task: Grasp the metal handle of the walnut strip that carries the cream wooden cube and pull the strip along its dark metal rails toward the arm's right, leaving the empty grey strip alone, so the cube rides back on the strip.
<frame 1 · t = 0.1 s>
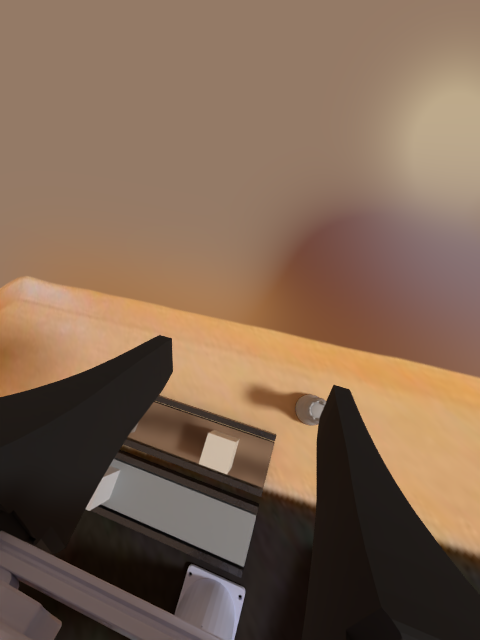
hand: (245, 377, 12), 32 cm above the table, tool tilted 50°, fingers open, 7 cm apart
cube: (222, 448, 39), point 1 cm above the table, touching strip A
rook chess piece: (309, 409, 41), on the table
strip A: (187, 438, 39), point 3 cm above the table, slide at 0.0 cm, touching cube
lane rails: (183, 467, 40), on the table
strip B: (164, 511, 36), point 3 cm above the table, slide at 0.0 cm
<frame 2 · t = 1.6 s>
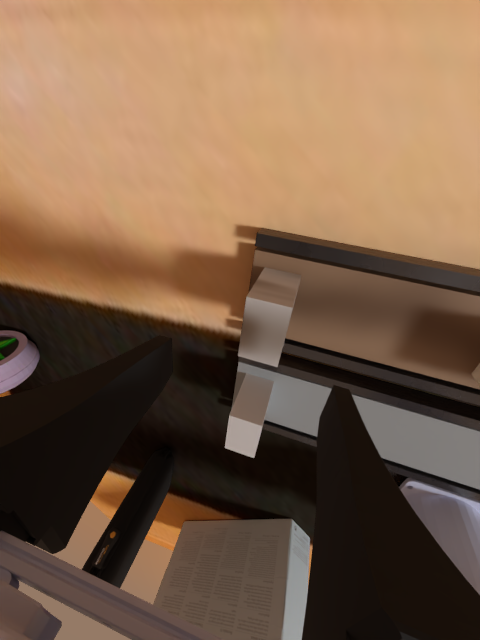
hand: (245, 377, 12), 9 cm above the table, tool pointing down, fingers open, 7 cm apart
headphones: (53, 389, 36), on the table
skincare box: (242, 527, 41), on the table
strip A: (445, 353, 15), point 3 cm above the table, slide at 0.0 cm, touching cube
lane rails: (400, 376, 20), on the table
strip B: (379, 449, 20), point 3 cm above the table, slide at 0.0 cm
carrying case or bag: (168, 457, 36), on the table
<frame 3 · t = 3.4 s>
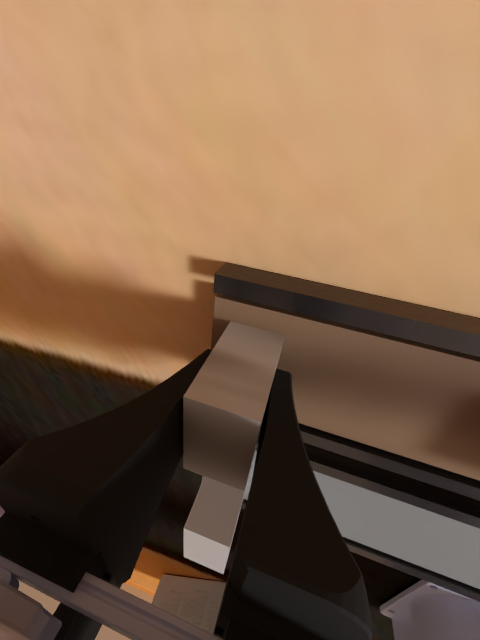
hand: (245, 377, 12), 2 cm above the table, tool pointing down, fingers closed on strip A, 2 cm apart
skincare box: (227, 587, 35), on the table
lane rails: (427, 464, 14), on the table
strip B: (397, 565, 14), point 3 cm above the table, slide at 0.0 cm
carrying case or bag: (137, 513, 31), on the table
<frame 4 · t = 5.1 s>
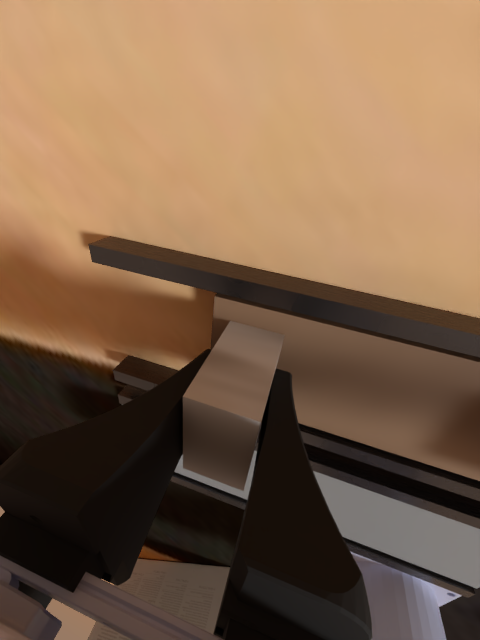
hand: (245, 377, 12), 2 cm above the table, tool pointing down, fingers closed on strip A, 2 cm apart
skincare box: (185, 568, 36), on the table
lane rails: (316, 429, 15), on the table
strip B: (290, 524, 16), point 3 cm above the table, slide at 0.0 cm
carrying case or bag: (93, 494, 32), on the table
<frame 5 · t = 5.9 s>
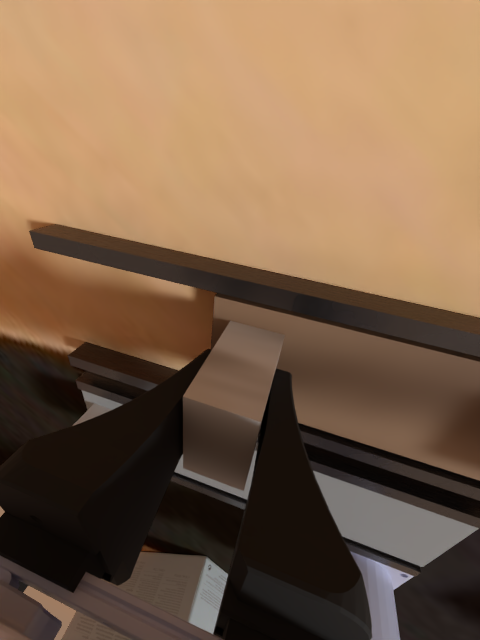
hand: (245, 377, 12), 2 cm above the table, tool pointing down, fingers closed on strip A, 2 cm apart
skincare box: (165, 559, 37), on the table
lane rails: (262, 412, 16), on the table
strip B: (239, 504, 16), point 3 cm above the table, slide at 0.0 cm
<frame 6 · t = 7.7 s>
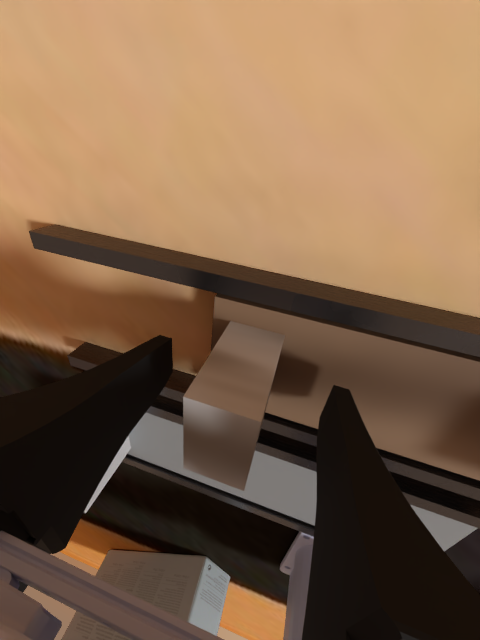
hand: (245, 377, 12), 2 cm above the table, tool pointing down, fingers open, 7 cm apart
skincare box: (165, 559, 37), on the table
lane rails: (262, 411, 16), on the table
strip B: (238, 504, 16), point 3 cm above the table, slide at 0.0 cm
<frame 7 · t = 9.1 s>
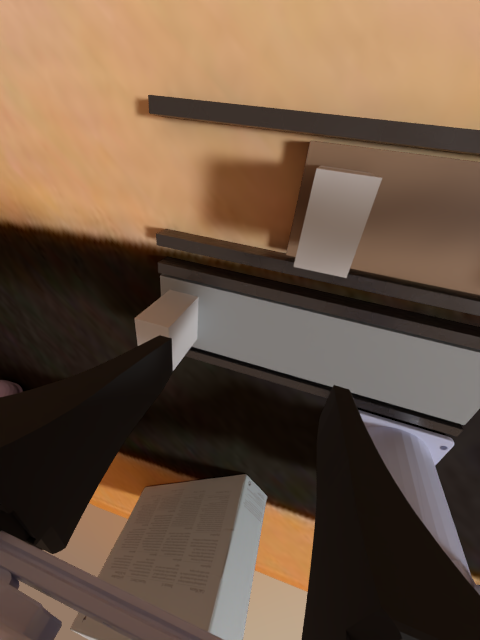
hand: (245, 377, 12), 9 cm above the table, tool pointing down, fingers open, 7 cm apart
skincare box: (201, 490, 39), on the table
lane rails: (328, 280, 18), on the table
strip B: (306, 363, 18), point 3 cm above the table, slide at 0.0 cm
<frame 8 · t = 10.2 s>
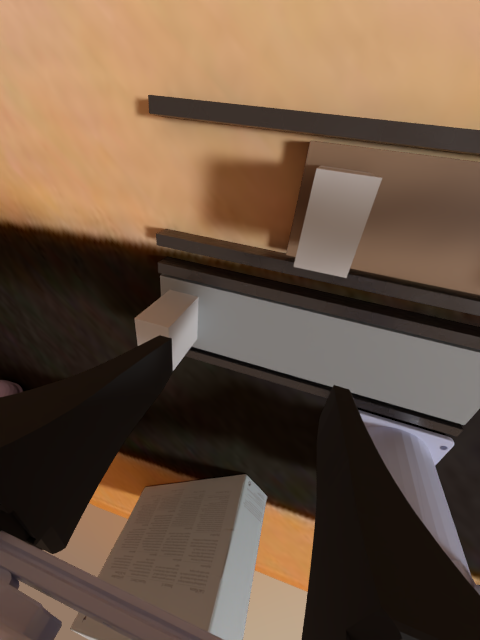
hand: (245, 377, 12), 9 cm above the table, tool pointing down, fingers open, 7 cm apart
skincare box: (201, 490, 39), on the table
lane rails: (328, 280, 18), on the table
strip B: (306, 363, 18), point 3 cm above the table, slide at 0.0 cm
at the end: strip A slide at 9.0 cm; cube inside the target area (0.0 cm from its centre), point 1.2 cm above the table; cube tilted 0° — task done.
